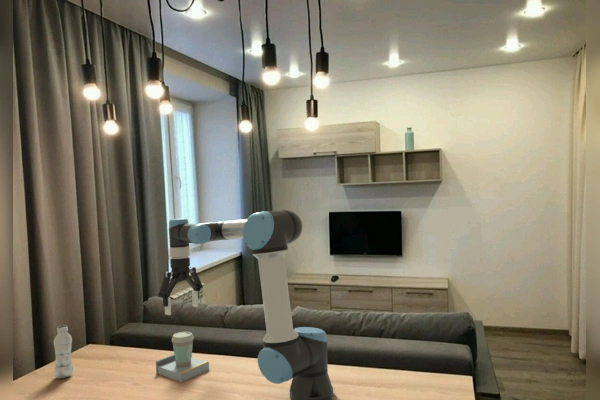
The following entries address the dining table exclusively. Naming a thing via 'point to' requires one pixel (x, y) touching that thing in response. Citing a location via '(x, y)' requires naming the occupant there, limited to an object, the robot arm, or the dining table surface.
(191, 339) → the coffee cup
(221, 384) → the dining table surface
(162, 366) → the plate
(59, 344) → the plastic bottle
